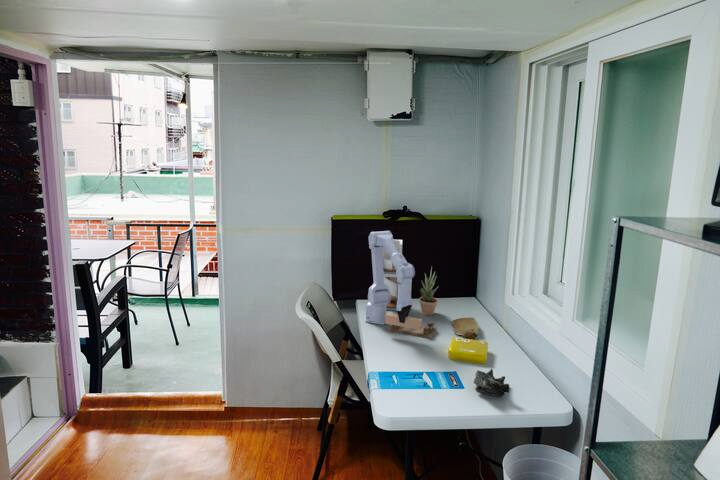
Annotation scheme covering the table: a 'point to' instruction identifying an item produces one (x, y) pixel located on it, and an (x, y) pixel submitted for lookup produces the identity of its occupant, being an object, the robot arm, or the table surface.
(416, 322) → the clay strip
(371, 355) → the table surface
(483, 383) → the mineral specimen
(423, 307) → the potted plant
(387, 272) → the display case
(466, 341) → the element tile
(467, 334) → the stone tool
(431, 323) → the strip rack
